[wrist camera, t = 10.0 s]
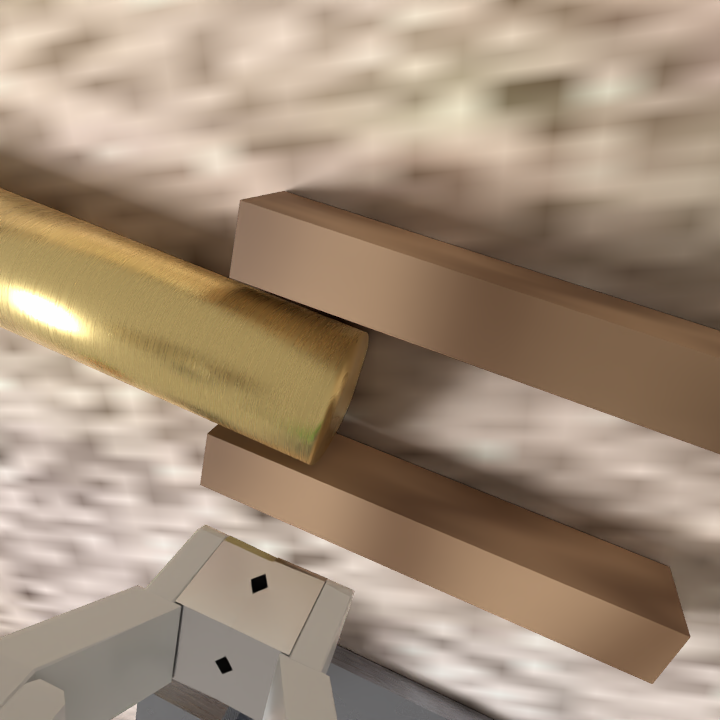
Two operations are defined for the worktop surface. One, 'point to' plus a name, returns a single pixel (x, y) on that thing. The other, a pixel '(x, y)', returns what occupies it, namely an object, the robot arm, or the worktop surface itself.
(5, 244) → the axle
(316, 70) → the worktop surface
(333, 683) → the grey base plate
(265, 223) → the parallel bars
